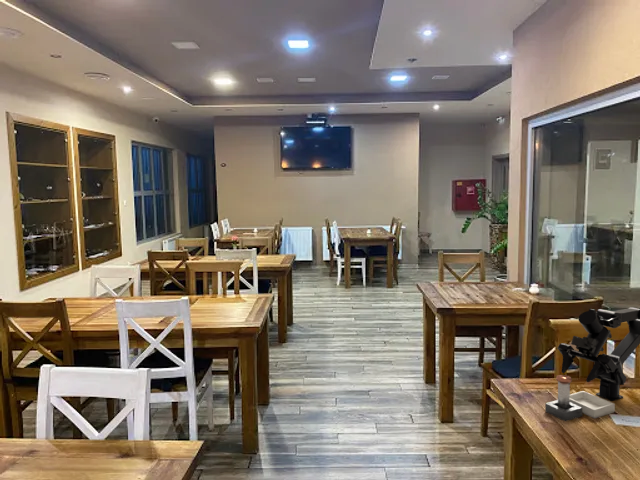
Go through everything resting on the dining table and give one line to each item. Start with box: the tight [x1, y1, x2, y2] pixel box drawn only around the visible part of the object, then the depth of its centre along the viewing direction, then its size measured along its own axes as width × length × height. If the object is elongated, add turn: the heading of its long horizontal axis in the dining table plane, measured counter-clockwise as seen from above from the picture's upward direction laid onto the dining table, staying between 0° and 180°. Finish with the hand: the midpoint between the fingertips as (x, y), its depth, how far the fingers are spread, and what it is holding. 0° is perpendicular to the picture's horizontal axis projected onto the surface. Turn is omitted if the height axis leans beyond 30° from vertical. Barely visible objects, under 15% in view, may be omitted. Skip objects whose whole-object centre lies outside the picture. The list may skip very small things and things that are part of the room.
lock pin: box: [556, 374, 573, 410], centre depth 162 cm, size 5×5×13 cm
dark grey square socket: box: [544, 399, 583, 422], centre depth 163 cm, size 8×8×3 cm
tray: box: [570, 390, 616, 420], centre depth 166 cm, size 10×12×3 cm
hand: (574, 376), depth 164 cm, fingers open, 9 cm apart
